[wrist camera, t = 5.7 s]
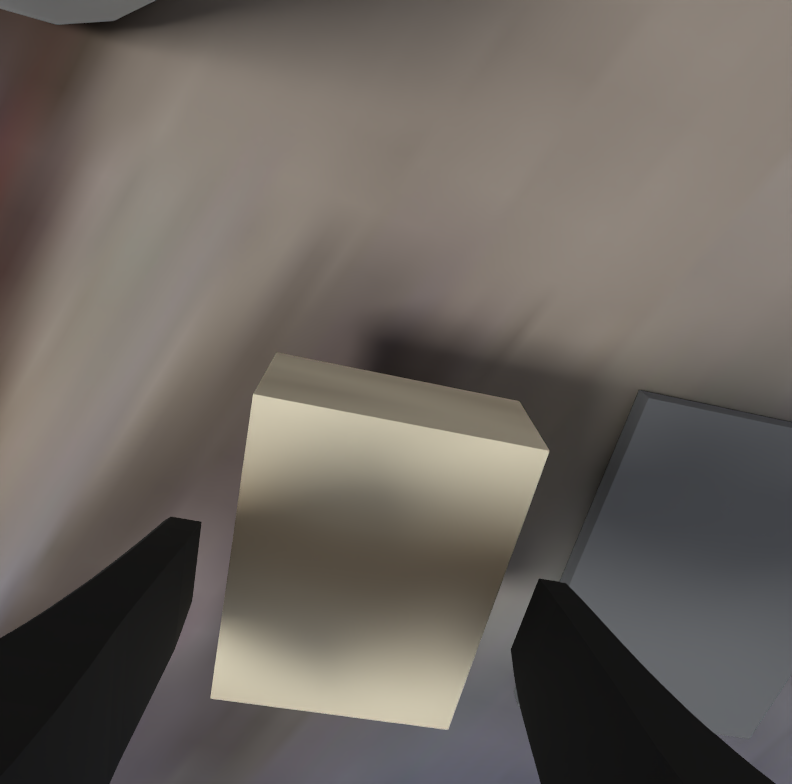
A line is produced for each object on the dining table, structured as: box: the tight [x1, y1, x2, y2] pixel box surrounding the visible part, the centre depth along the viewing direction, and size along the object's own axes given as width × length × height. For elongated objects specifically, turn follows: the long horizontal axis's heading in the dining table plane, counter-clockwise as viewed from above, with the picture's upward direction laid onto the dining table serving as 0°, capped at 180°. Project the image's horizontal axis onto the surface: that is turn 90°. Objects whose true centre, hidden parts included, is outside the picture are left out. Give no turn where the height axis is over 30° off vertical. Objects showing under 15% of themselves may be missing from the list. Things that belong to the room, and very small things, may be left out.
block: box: [211, 352, 549, 730], centre depth 12 cm, size 8×6×2 cm
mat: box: [514, 390, 792, 739], centre depth 18 cm, size 12×9×1 cm
